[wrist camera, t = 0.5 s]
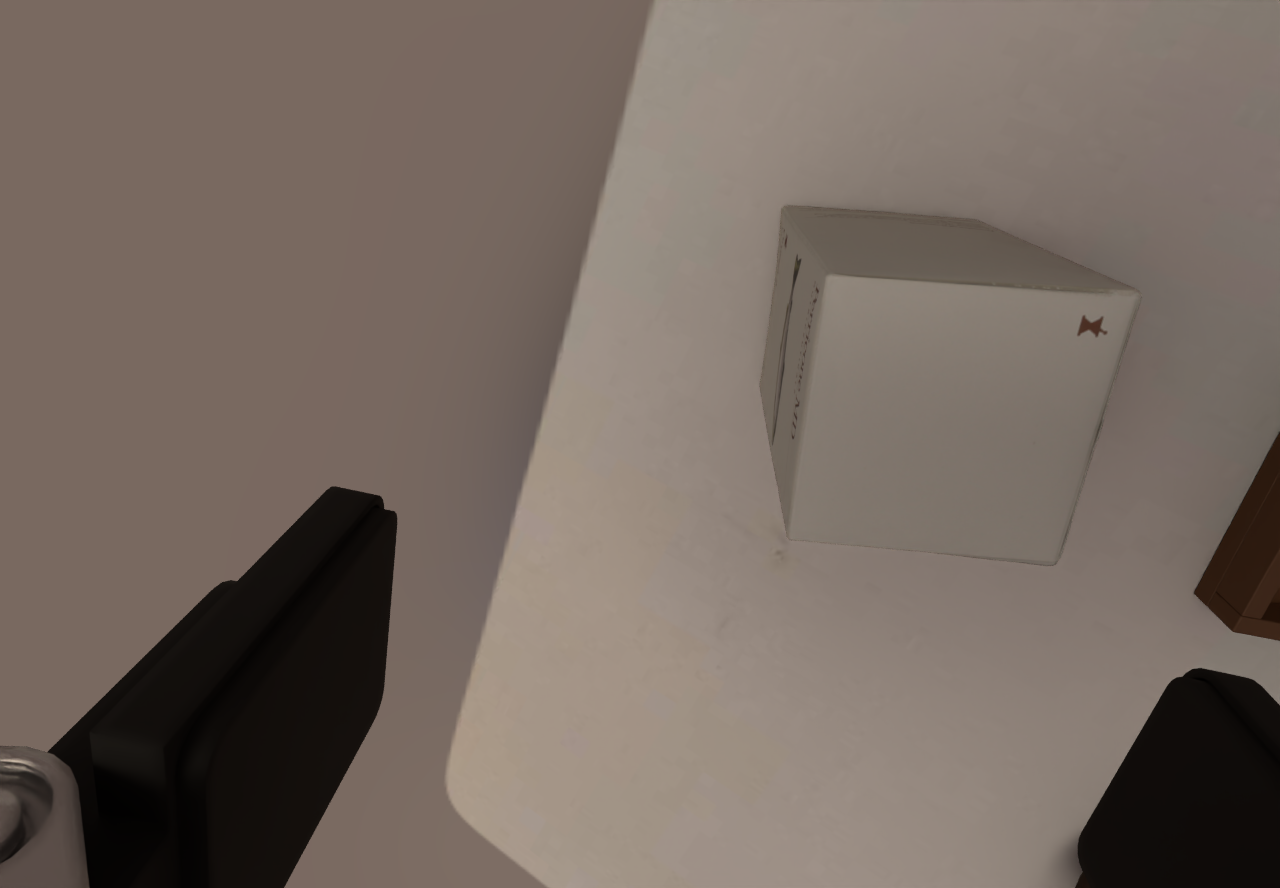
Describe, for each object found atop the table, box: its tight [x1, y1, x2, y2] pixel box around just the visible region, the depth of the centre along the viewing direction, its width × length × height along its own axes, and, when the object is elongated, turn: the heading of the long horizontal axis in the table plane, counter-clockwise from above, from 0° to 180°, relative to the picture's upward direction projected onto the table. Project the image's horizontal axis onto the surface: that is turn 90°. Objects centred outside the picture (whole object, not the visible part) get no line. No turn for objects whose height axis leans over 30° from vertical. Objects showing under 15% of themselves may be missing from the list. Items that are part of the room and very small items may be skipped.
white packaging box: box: [760, 206, 1142, 566], centre depth 25 cm, size 7×7×13 cm
